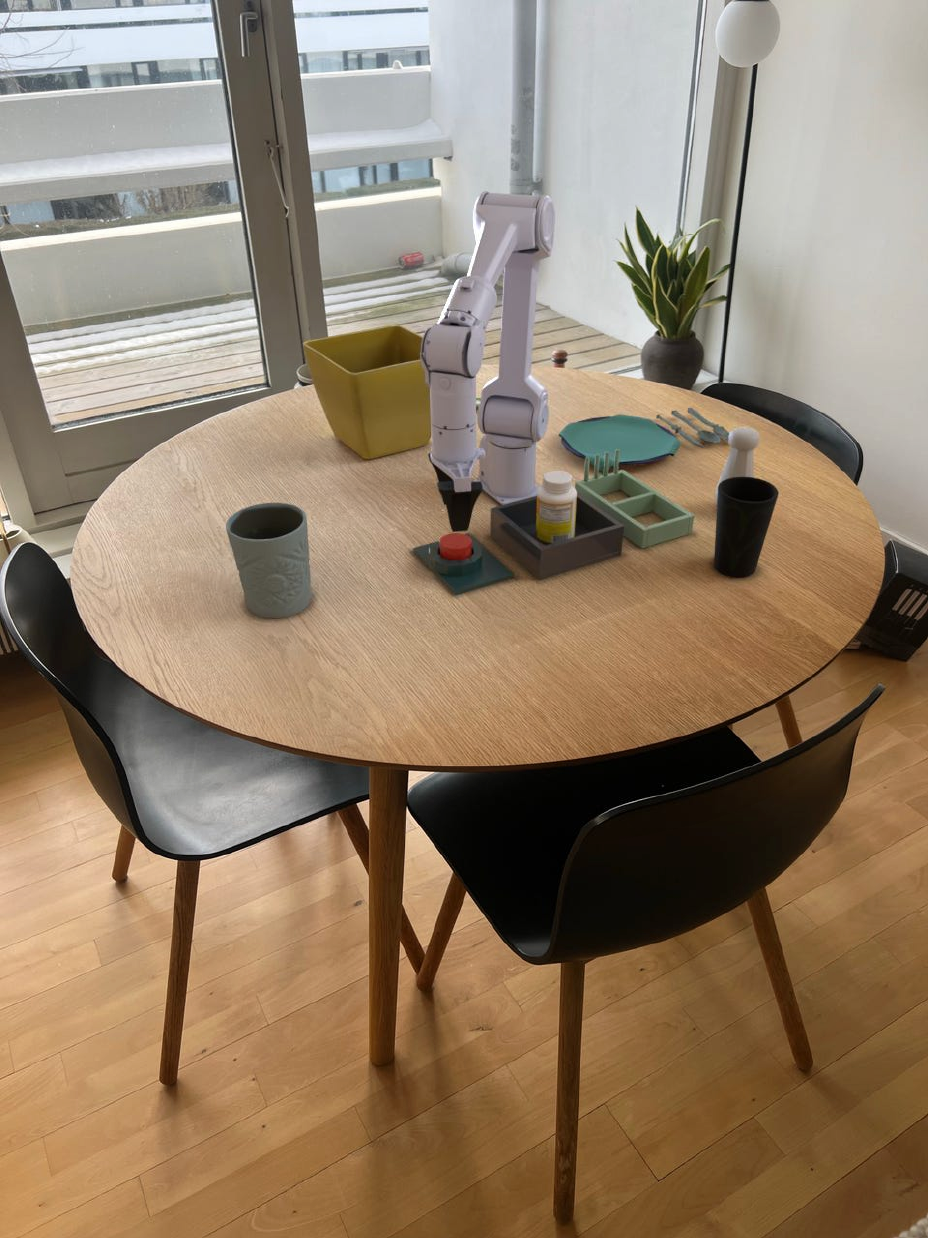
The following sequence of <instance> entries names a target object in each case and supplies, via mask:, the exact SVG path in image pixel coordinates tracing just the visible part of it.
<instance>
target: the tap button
mask: <svg viewBox="0 0 928 1238" xmlns="http://www.w3.org/2000/svg"><path fill="white" fill-rule="evenodd" d="M465 534H466V533H460V532H452V533H447V534H444V535H442V536H441V537H440V539H439V540H438V541H439V542H440V556H441V557H442V558H444V559H447V560H459V561H460V560H464V559H467V558H469V557H470V556H471V555H472V540H471V538H470V537H469V536H467V535H465Z"/></svg>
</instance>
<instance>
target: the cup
mask: <svg viewBox="0 0 928 1238" xmlns="http://www.w3.org/2000/svg"><path fill="white" fill-rule="evenodd" d="M779 494H780V493H779V490H778V488H777V487H776V486H775V485H774V484H773V483H771V482H769V481H767V480H765V479H761V478H758V477H754V478H753V477H732V478H728V479H726V480H724V481H722V482H721V483H720V484H719V486H718V499H717V505H716V518H715V520H716V521H715V537H714V538H715V539H714V554H713V555H714V556H713V567H714V570H715V571H716V572H717V573H719V574H720V575H723V576H725V577H728V578H732V579H745V578H748V577H752V576H753V575H754V574H755V573H756V569H757V566H758V563H759V559H760V556H761V553H762V550H763V547H764V543H765V541H766V537H767V534H768V531H769V527H770V523H771V520H772V517H773V513H774V511H775V507H776V504H777V500H778V498H779Z"/></svg>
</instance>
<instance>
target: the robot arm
mask: <svg viewBox="0 0 928 1238" xmlns="http://www.w3.org/2000/svg"><path fill="white" fill-rule="evenodd" d="M473 207H474V208H473V214H472V225H473V231H474V237H475V242H476V245H475V247H474V251H473V254H472V258H471V260H470V261H471V262H470V264H469V268H468V270H467V274H466V275H465V276H462V277H459V278H458V279H456V281H455V282H454V284H453V286H452V288H451V291H450V293H449V295H448V298H447V300H446V303H445V305H444V307H443V310H442V312H441V315H440V317H439V319H438V322H437V323H434V324H433V325H432V326H430V327H427V328H426V329H425V331H424V334H423V335H422V336H423V339H422V344H421V354H420V359H421V365H422V368H423V370H424V372H425V383H426V385H427V386H428V387H430V406H431V451H430V452H429V453H428V454H427V457H428V460H429V462H430V464H431V465H432V467H433V469H434V472H435V474H436V477H437V478H436V479H437V482H436V487H437V489H438V492H439V494H440V495H441V496H440V497H441V500H442V503H443V505H444V506H445V507H446V510H447V512H446V513H447V518H448V522H449V526H450V529H451V532H452V533H460V532H467V531H468V530H469V528H470V523H471V520H472V515H473V511H474V507H475V505H476V503H477V500H478V499H479V498H480V495H481V494H482V492H483V491H484V492H485V493H486V494H488V495H489V496H490V497H491V498H493V499H494V500H495V501H496V502H497V503H499V504H500V506H501V505H505V504H508V503H512V502H516V501H520V500H523V499H527V498H531V497H535V496H537V491H538V489H539V487H540V485H538V484H537V483H536V460H537V442H540V441H541V440H542V439H543V438H544V437H545V435H546V432H547V430H548V425H549V419H550V409H549V393H548V389H547V388H546V387H545V386H544V385H543V384H542V383H541V382H539V381H538V380H537V379H536V378H535V377H534V376H533V375H532V364H533V351H534V350H533V349H534V334H535V322H536V321H535V320H536V306H537V293H538V290H537V289H538V278H539V277H538V276H539V269H540V265H541V260H544V259H547V258H549V257H551V256H552V250H553V246H554V237H555V224H556V223H555V222H556V211H555V206H554V202H553V200H552V199H551V197H550V196H549V195H548V194H542V195H532V194H531V195H529V194H515V193H497V192H490V191H482V192H481V193H480V195H478V197H477V199H476V201H475V204H474V206H473ZM502 272H503V286H502V287H503V288H502V303H501V304H502V305H501V306H502V307H501V320H500V321H501V322H500V323H501V324H500V327H501V328H500V341H499V342H500V343H499V359H498V360H499V361H498V374H497V375H496V376H495V377H493V378H492V379H490V380H489V381H488V382H486V383H485V384H484V385H483V387H482V389H481V394H480V398H481V402H480V405H479V409H476V398H477V375H478V373H479V371H480V369H481V367H482V363H483V360H484V351H485V346H486V341H487V336H486V331H487V329H488V325H489V322H490V320H491V318H492V315H493V312H494V310H495V308H496V305H497V303H498V296H497V292H496V289H495V286H496V284H497V282H498V280H499V278H500V276H501V274H502ZM477 426H478V429H479V430H480V432H481V434H482V435H483V436H482V437H481V439H480V442H479V445H478V447H477ZM477 462H478V478H475V479H474V480H473V481H472V474H473V471H474V470H475V467H476V464H477Z"/></svg>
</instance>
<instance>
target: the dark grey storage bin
mask: <svg viewBox="0 0 928 1238" xmlns="http://www.w3.org/2000/svg"><path fill="white" fill-rule="evenodd" d="M536 512H537V496H535V497H531V498H527V499H523V500H520V501H516V502H512V503H508V504H505V505H501V504H500V505H498V506H494V507H490V520H489V521H490V527H489V528H490V529H489V530H490V539H491V540H493V541H494V542H495V543H496V544H498V546H500V547H501V548H502V549H503V550H504V551H505V552H507V553H508V554H509V555H510V556H511V557H512V558H513V559H515V560H516V561H517V562H518V563H519V564H520V565H521V566H522V567H524V568H525V570H526V571H528V572H529V573H530V574H531V575H533V576H534V577H535V578H536V579H537V580H538V581H543V580H546V579H549V578H552V577H556V576H559V575H562V574H566V573H569V572H572V571H576V570H578V569H581V568H585V567H588V566H591V565H595V564H598V563H601V562H605V561H608V560H611V559H615V558H618V557H621V556H622V551H623V541H624V535H623V533H624V525H622V524H621V523H619V522H618V521H617V520H615V519H614V518H612V517H611V516H610V515H608V514H607V513H605V512H604V511H603V510H601V509H600V508H598V507H597V506H596V505H594V504H593V503H591V502H590V501H589V500H587V499H586V498H584V497H583V496H582V495H580V494H579V493H577V504H576V520H575V536H574V537H573V538H570V539H566V540H563V541H559V542H556V543H552V544H549V545H546V546H542V545H541V544H539V543H538V542H537V540H536Z"/></svg>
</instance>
